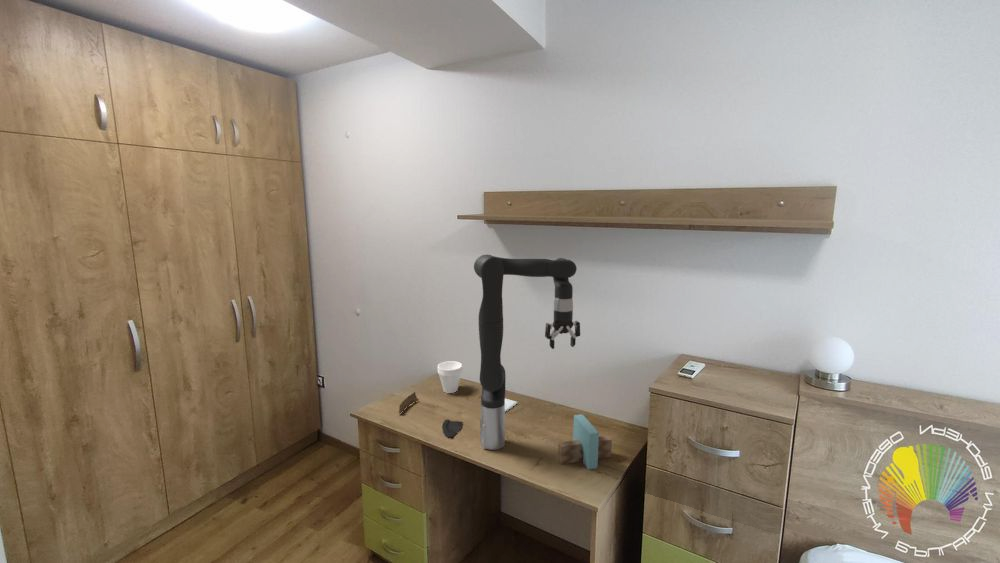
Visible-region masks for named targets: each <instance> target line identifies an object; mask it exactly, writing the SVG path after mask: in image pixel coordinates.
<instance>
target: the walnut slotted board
mask: <svg viewBox="0 0 1000 563" xmlns="http://www.w3.org/2000/svg"><path fill="white" fill-rule="evenodd" d="M612 446H613V440H612V438H611V436H609V435H602V436H599V440H598V459H603V458H610V457H612ZM557 452H558V453H557V456H558V459H557V460H558V462H559V463H560V465H566V464H571V463H578V462H583V451H582V450H581V444H580V443H579V441H578V440H573V439H572V440H567V441H559V442H558V450H557Z"/></svg>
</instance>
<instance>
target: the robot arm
mask: <svg viewBox="0 0 1000 563" xmlns="http://www.w3.org/2000/svg"><path fill="white" fill-rule="evenodd" d="M473 270H474V273H475V274H476V275H477V277H479V278H481V284H482V299H481V303H480V307H479V311H478V335H479V336H478V337H479V338H478V339H479V346H480V372H479V382H480V386H481V395H480V396H481V397H480V413H481V415H480V416H481V417H480V420H479V425H480V426H479V429H480V431H479V432H480V433H479V434H480V443H481V447H482V449H483V450H489V451H496V450H500V449H502V448H503V447H504V446H505V445H506V419H505V418H506V414H505V398H506V378H507V377H506V369H505V367H504V366H503V365H502V362H501V360H502V359H501V358H502V357H501V355H502V354H501V353H502V347H503V338H504V314H503V313H504V311H503V310H504V307H503V285H504V283H503V282H504V276H505V275H506V276H507V275H508V276H510V275H511V276H521V277H530V278H531V277H532V278H546V277H547V278H548V277H551V278H552V279H553V280H552V281H553V283H554V300H553V322H552V323H549V322H546V323H545V328H544V329H545V330H544V337H545V338H546V339H547V340H549V347H550V348H551V349H552V350H555V338H556V337H558V335H559V334H560V335H562V334H569V335H570V347H572V348H573V347H575V346H576V338H578V337H581V322H580V321H579V320H575V321H573V317H574V316H573V315H574V312H573V311H574V301H573V300H574V299H573V294H574V293H573V292H574V291H573V289H574V288H573V285H572V283H571V282H570V280H569V278H571V277H574V275H576V272H577V265H576V264H575V262H574V261H572V260H570V259H566V258H563V257H559V258H556V259H549V258H507V257H505V258H504V257H499V256H495V255H491V254H482V255H480V256H478V257H477V258H476V259H475V261H474V264H473ZM573 327H574V331H573V330H572V328H573ZM552 328H553V330H552ZM551 330H552V331H551Z"/></svg>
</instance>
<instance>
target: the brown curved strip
mask: <svg viewBox="0 0 1000 563" xmlns="http://www.w3.org/2000/svg"><path fill="white" fill-rule="evenodd" d="M418 400H419V398H417V395H416V391H414V392H413V393H412V394H410V395H408V396H407V397H406V398H404V400H402V402H401V403H400V405H399V406H398V407H399V408H398V409H399V410H398V412H399V414H400V413H401V412H402V411H403V410H404V409H405V408H406V407H408V406H409V405H410V404H412V403H413V402H416V401H418ZM419 401H420V400H419ZM419 401H418V402H419ZM408 408H409V407H408ZM399 414H398V415H399ZM401 414H402V413H401ZM401 414H400V415H401Z"/></svg>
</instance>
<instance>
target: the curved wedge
mask: <svg viewBox="0 0 1000 563" xmlns="http://www.w3.org/2000/svg"><path fill="white" fill-rule="evenodd" d="M462 423H463V421H458V420H457V421H456V420H452V421H451V420H450V419H444V421H443V423H442V425H441V428H442V433H443V434H445V435H444V436H445V438H447V439H448V438H452V439H453V438H454V437H455V436H456V435H458V433H457V432H459V431H460V430H462V428H463V424H462ZM460 432H461V431H460ZM460 432H459V433H460Z"/></svg>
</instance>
